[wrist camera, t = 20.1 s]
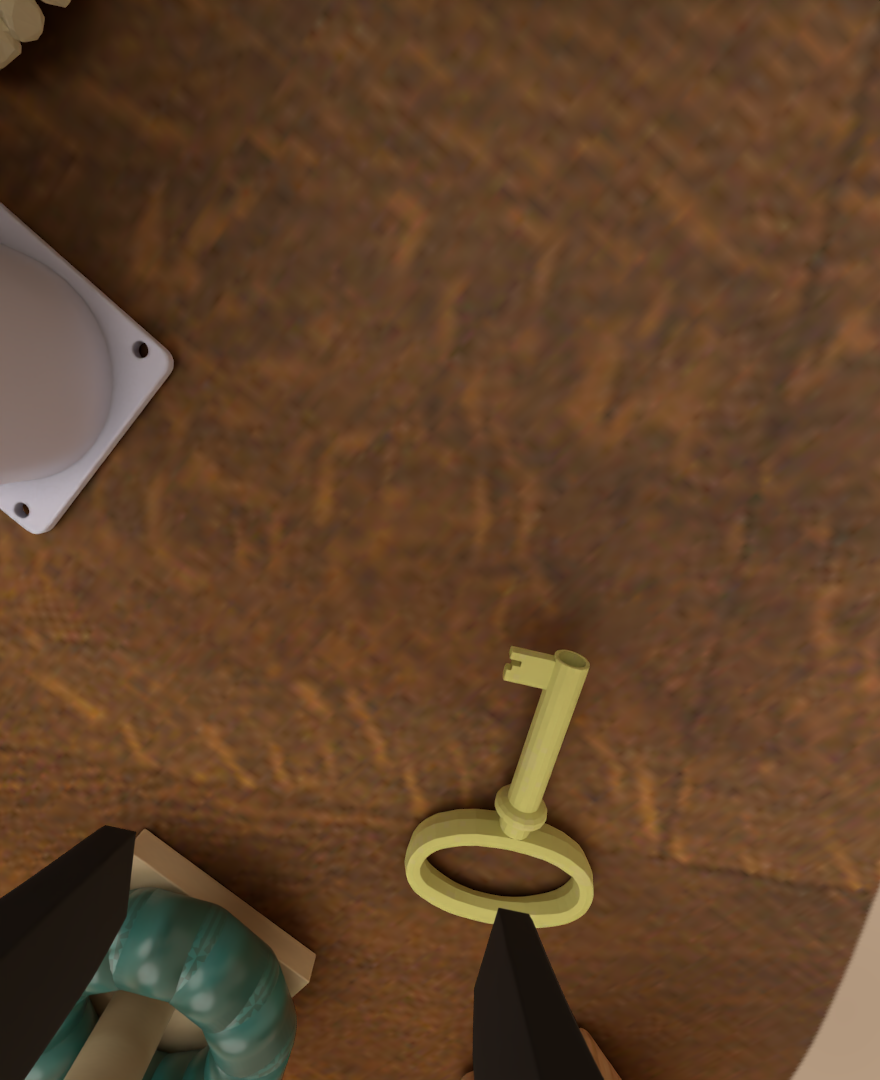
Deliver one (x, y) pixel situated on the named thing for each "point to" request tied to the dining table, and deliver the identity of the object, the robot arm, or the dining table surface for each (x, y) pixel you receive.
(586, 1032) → the decorative item
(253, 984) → the ring
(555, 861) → the key
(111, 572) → the dining table surface
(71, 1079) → the post stand
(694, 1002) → the dining table surface
